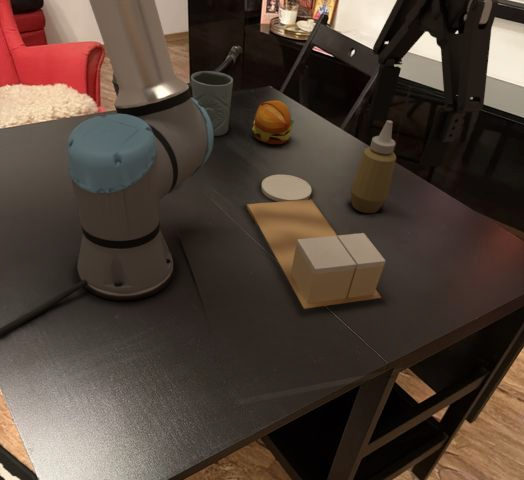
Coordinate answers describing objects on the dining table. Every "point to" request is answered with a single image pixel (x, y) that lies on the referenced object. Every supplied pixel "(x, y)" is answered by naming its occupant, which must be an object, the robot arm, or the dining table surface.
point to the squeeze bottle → (374, 173)
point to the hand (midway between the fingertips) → (401, 141)
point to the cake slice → (363, 264)
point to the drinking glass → (214, 97)
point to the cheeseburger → (272, 123)
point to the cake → (322, 269)
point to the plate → (285, 188)
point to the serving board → (294, 236)
